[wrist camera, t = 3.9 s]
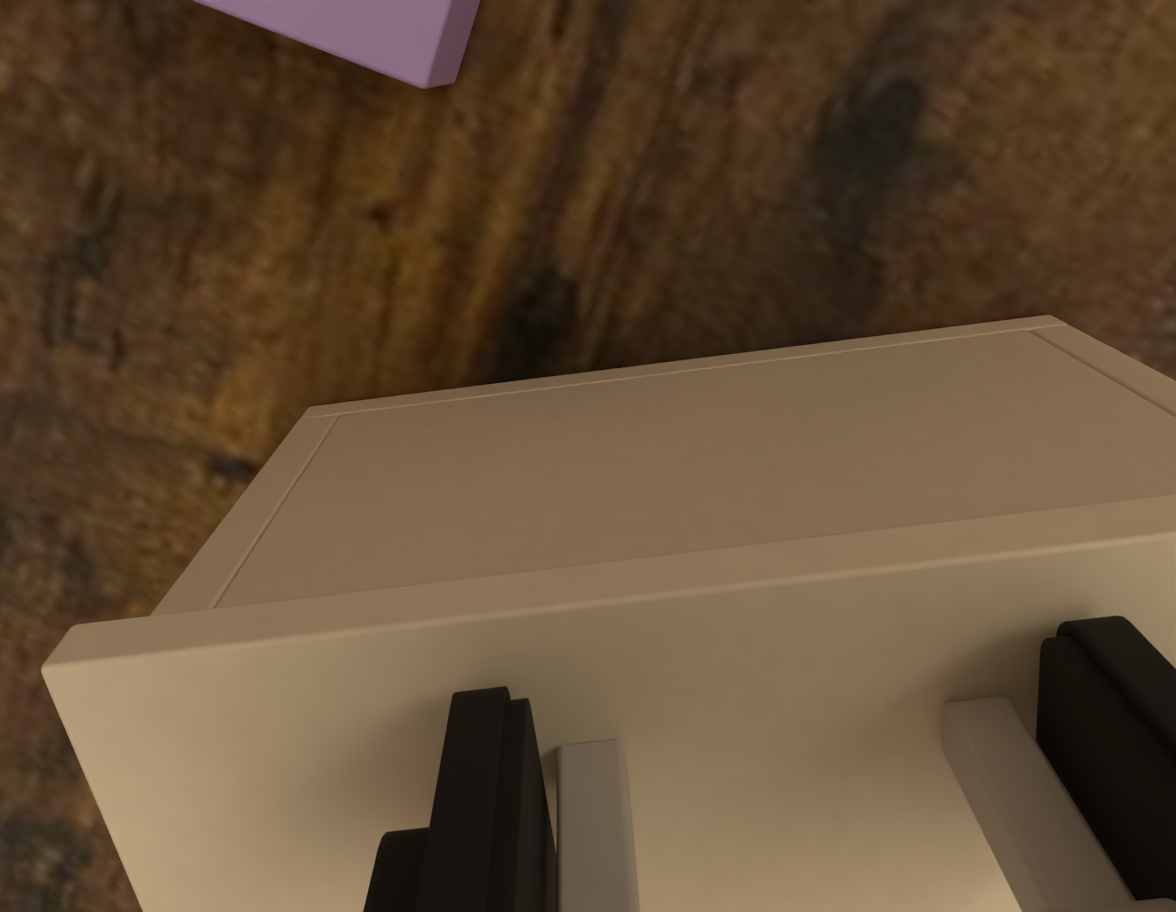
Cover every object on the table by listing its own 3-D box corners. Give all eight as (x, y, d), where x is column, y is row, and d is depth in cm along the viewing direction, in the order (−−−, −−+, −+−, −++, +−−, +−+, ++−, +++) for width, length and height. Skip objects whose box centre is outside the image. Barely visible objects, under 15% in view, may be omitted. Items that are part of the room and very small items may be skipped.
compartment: (307, 405, 20) (130, 636, 12) (1050, 313, 20) (1388, 488, 12) (422, 900, 25) (349, 1313, 17) (1031, 832, 24) (1266, 1223, 16)
